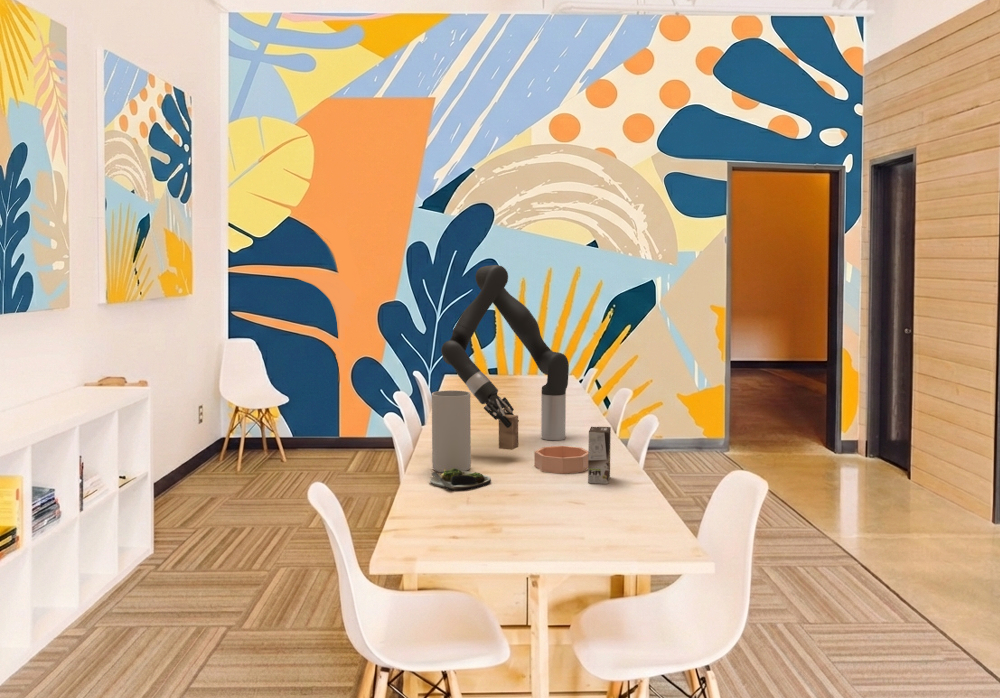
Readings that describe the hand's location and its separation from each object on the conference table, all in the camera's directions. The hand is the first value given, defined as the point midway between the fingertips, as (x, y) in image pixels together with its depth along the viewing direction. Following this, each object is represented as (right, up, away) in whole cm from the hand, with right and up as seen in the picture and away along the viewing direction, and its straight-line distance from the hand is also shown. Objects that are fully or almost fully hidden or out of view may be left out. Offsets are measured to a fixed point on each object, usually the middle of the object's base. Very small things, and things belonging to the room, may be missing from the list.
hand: (513, 424), depth 282 cm
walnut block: (-2, -8, +2) cm, 8 cm away
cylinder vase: (-20, -14, -11) cm, 27 cm away
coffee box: (+26, -15, -25) cm, 39 cm away
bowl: (+16, -13, -8) cm, 22 cm away
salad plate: (-17, -16, -28) cm, 37 cm away
